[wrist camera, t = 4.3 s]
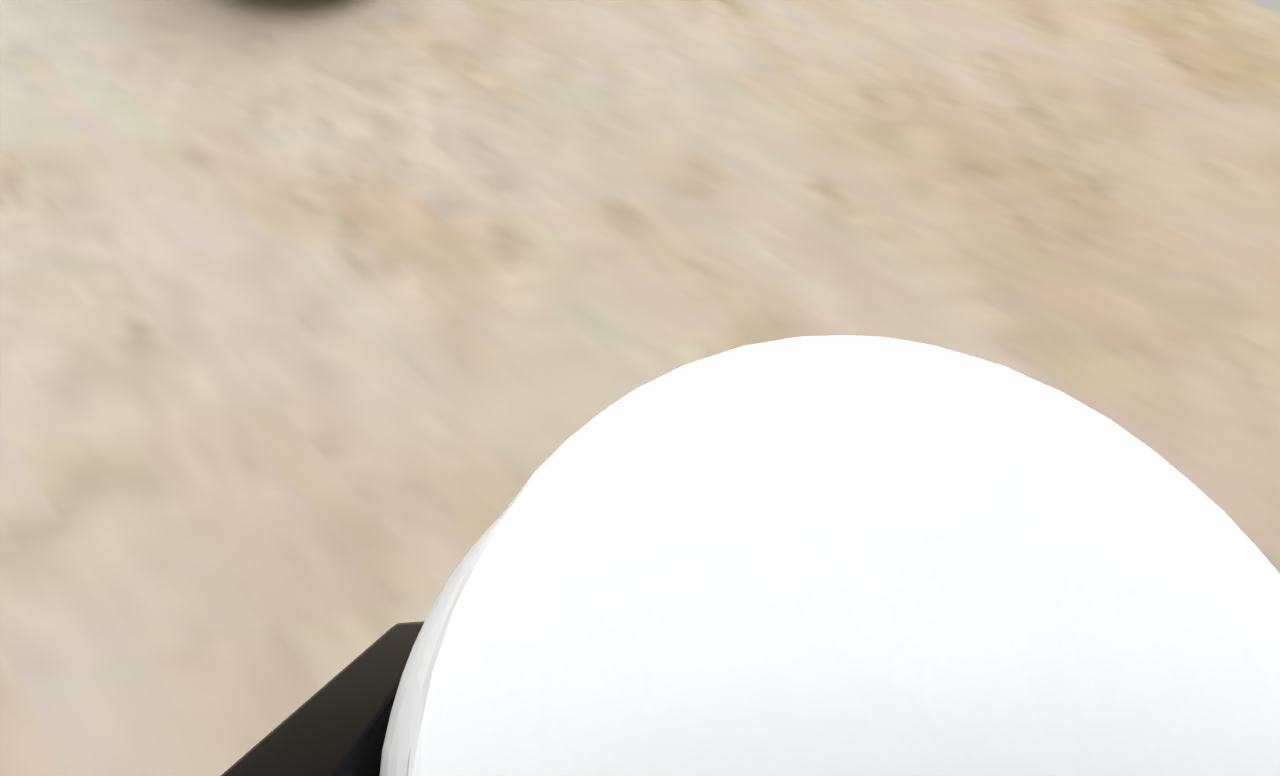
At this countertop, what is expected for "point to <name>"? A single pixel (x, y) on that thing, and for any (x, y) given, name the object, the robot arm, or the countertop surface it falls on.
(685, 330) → the countertop surface
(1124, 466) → the supplement bottle
